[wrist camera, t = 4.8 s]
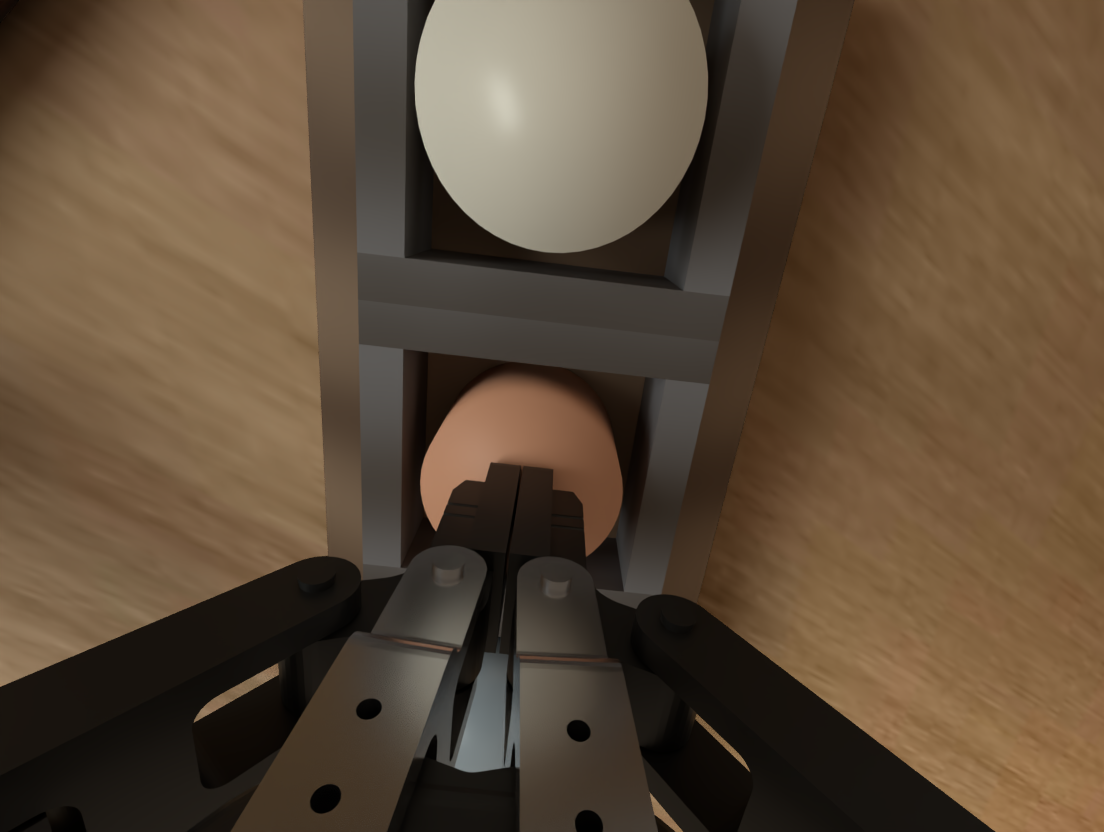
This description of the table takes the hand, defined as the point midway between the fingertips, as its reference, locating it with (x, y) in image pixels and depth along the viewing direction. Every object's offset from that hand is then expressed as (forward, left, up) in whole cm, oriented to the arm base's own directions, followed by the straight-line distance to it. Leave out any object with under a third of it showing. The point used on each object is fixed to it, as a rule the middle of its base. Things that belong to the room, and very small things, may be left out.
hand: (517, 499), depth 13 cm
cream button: (-8, 0, -2) cm, 8 cm away
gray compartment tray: (0, 0, -5) cm, 5 cm away
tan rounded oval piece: (0, 0, -3) cm, 3 cm away
